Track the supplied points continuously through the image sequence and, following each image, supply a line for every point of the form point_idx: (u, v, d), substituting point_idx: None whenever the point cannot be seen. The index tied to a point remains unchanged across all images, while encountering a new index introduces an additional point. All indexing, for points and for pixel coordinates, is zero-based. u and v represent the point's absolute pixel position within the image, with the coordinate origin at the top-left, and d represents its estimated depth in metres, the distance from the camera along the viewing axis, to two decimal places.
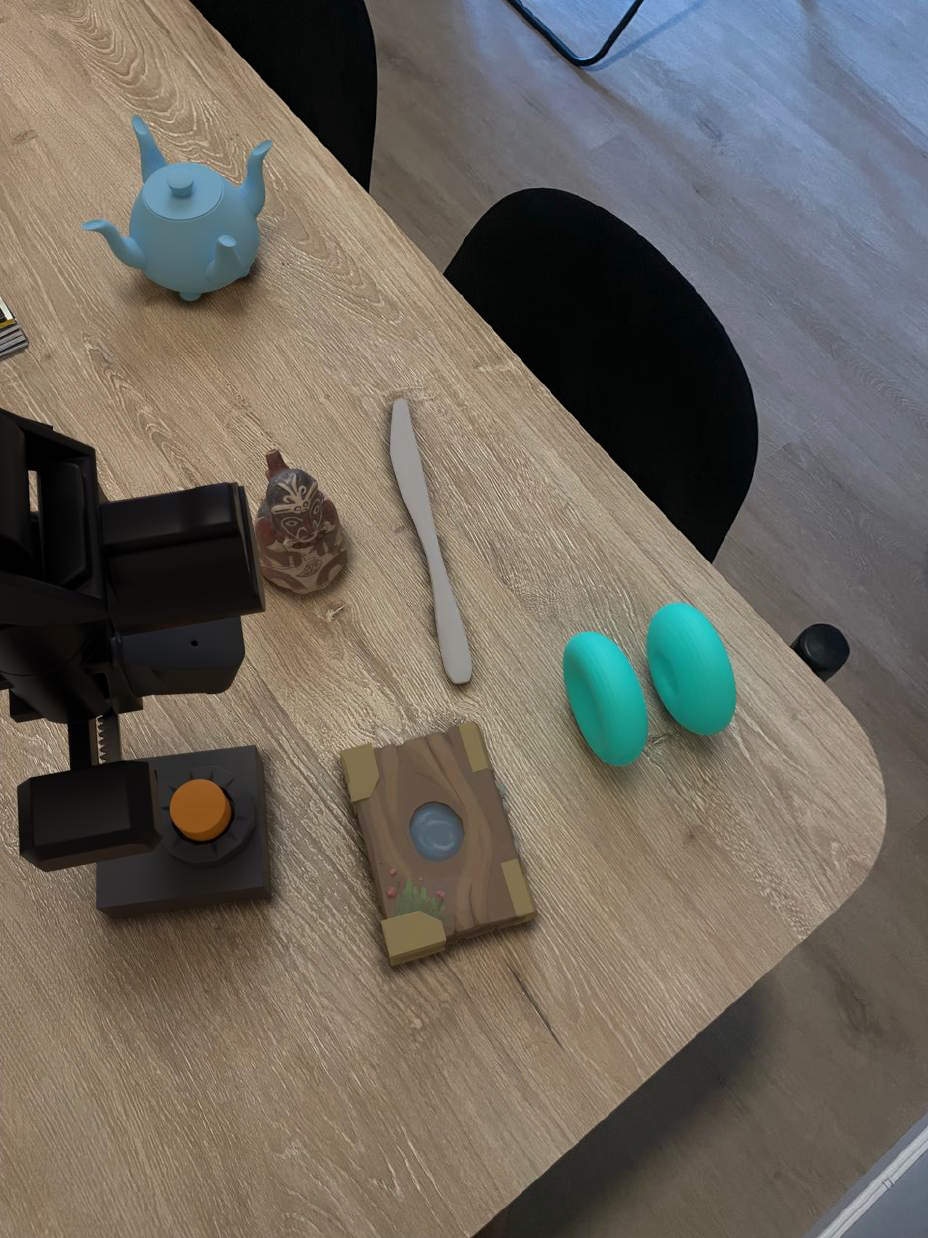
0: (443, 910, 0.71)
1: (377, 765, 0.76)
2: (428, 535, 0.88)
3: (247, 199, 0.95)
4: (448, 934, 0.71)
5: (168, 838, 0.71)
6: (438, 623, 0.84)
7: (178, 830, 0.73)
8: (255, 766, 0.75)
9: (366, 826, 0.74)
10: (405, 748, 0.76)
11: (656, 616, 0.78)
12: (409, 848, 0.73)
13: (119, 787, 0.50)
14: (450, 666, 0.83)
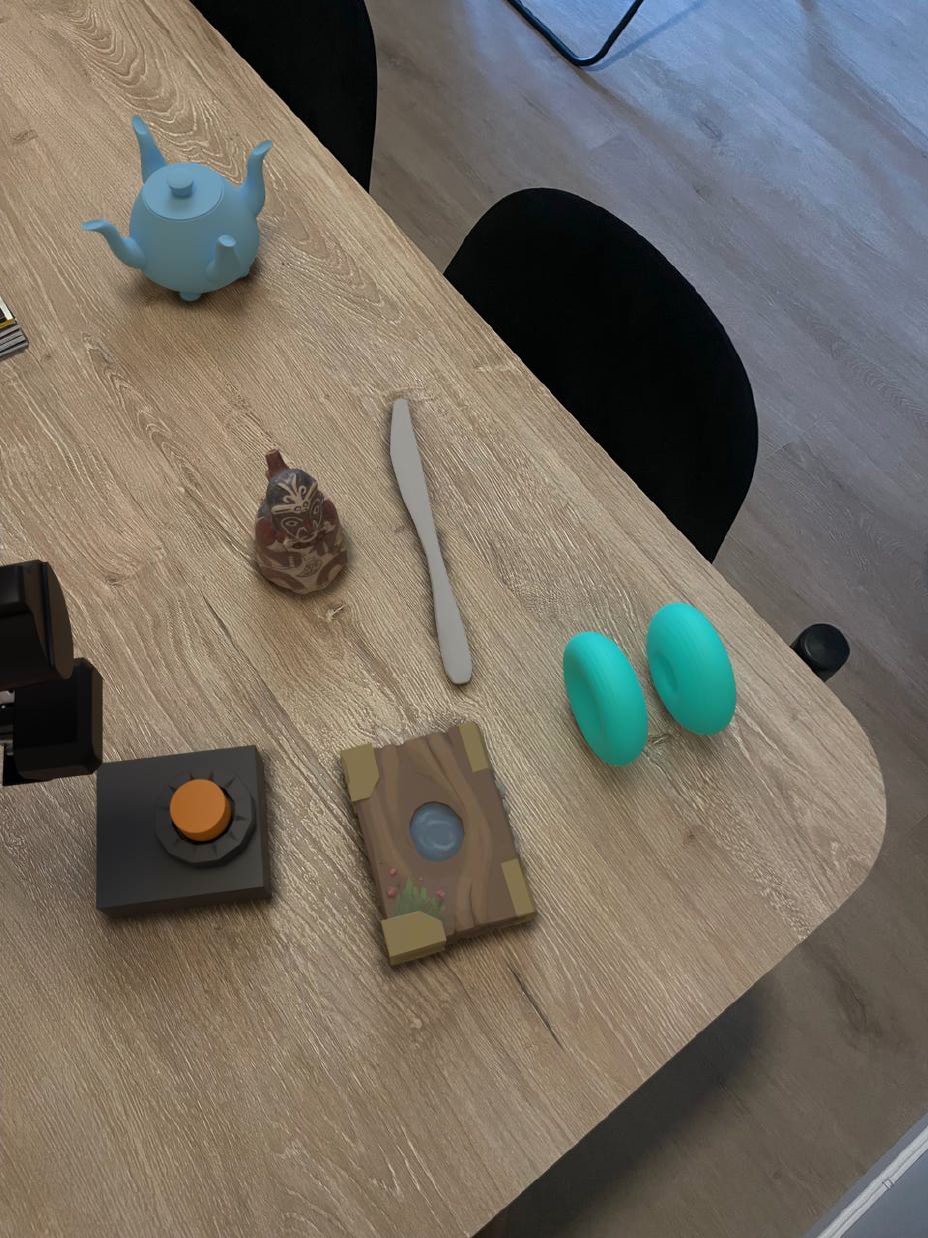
0: (443, 911, 0.71)
1: (377, 765, 0.76)
2: (428, 535, 0.88)
3: (247, 199, 0.95)
4: (448, 934, 0.71)
5: (168, 838, 0.71)
6: (438, 623, 0.84)
7: (178, 830, 0.73)
8: (255, 766, 0.75)
9: (366, 826, 0.74)
10: (405, 748, 0.76)
11: (656, 616, 0.78)
12: (409, 848, 0.73)
13: None
14: (450, 666, 0.83)
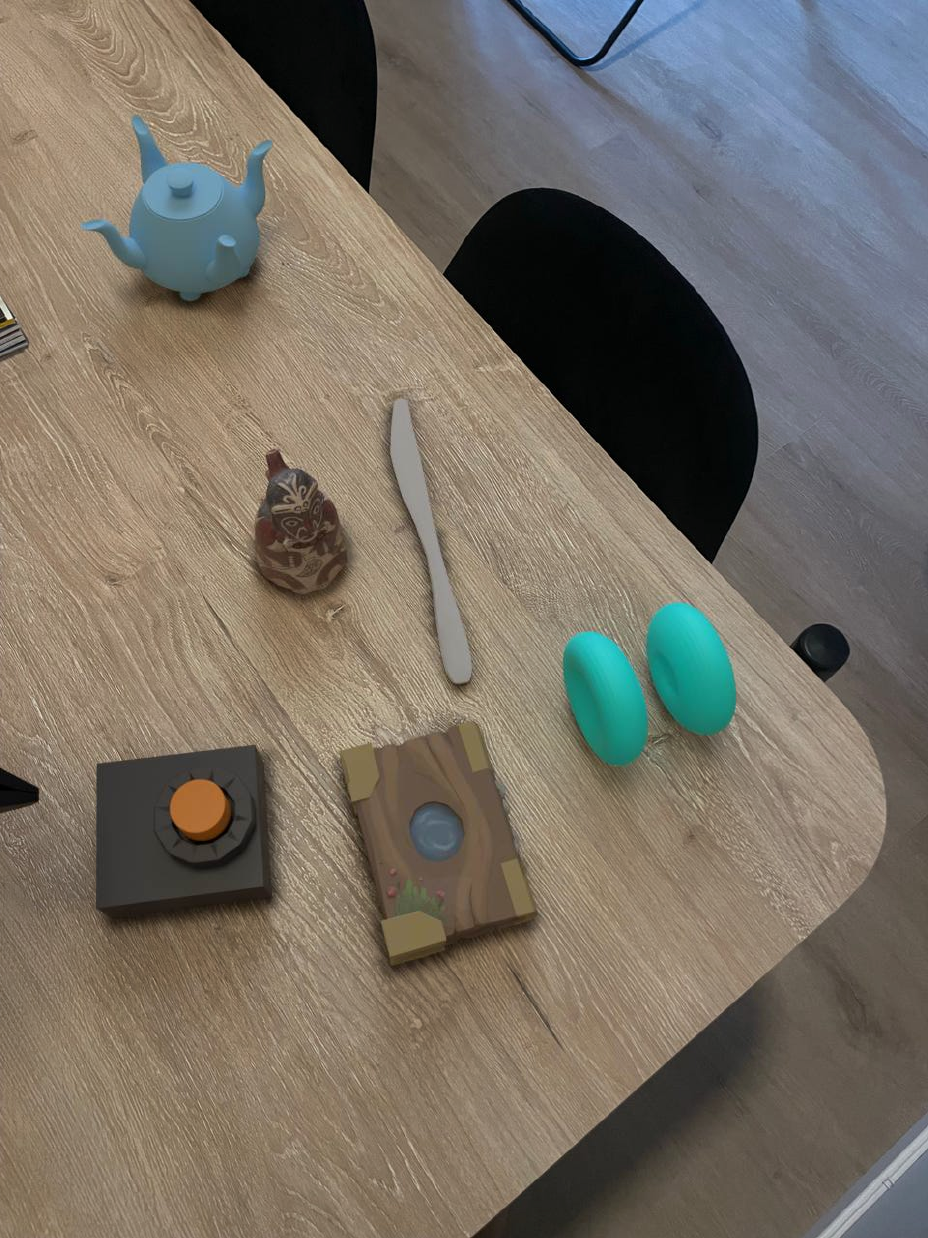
0: (443, 910, 0.71)
1: (377, 765, 0.76)
2: (428, 535, 0.88)
3: (247, 199, 0.95)
4: (448, 934, 0.71)
5: (168, 838, 0.71)
6: (438, 623, 0.84)
7: (178, 830, 0.73)
8: (255, 766, 0.75)
9: (366, 826, 0.74)
10: (405, 748, 0.76)
11: (656, 616, 0.78)
12: (409, 848, 0.73)
13: None
14: (450, 666, 0.83)
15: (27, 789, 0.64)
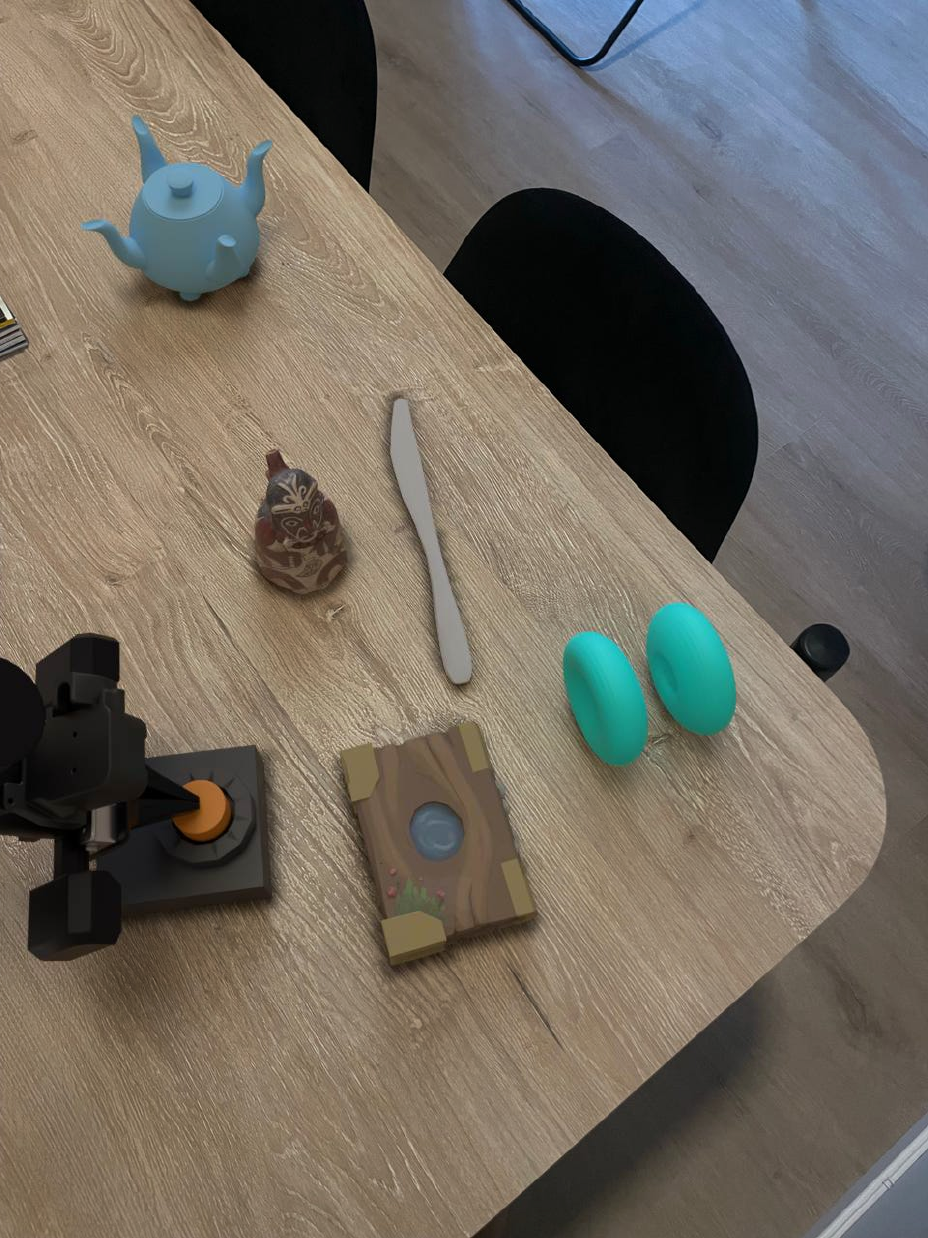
0: (443, 910, 0.71)
1: (377, 765, 0.76)
2: (428, 535, 0.88)
3: (247, 199, 0.95)
4: (448, 934, 0.71)
5: (168, 838, 0.71)
6: (438, 623, 0.84)
7: (178, 830, 0.73)
8: (255, 766, 0.75)
9: (366, 826, 0.74)
10: (405, 748, 0.76)
11: (656, 616, 0.78)
12: (409, 848, 0.73)
13: (64, 898, 0.59)
14: (450, 667, 0.83)
15: (190, 798, 0.69)
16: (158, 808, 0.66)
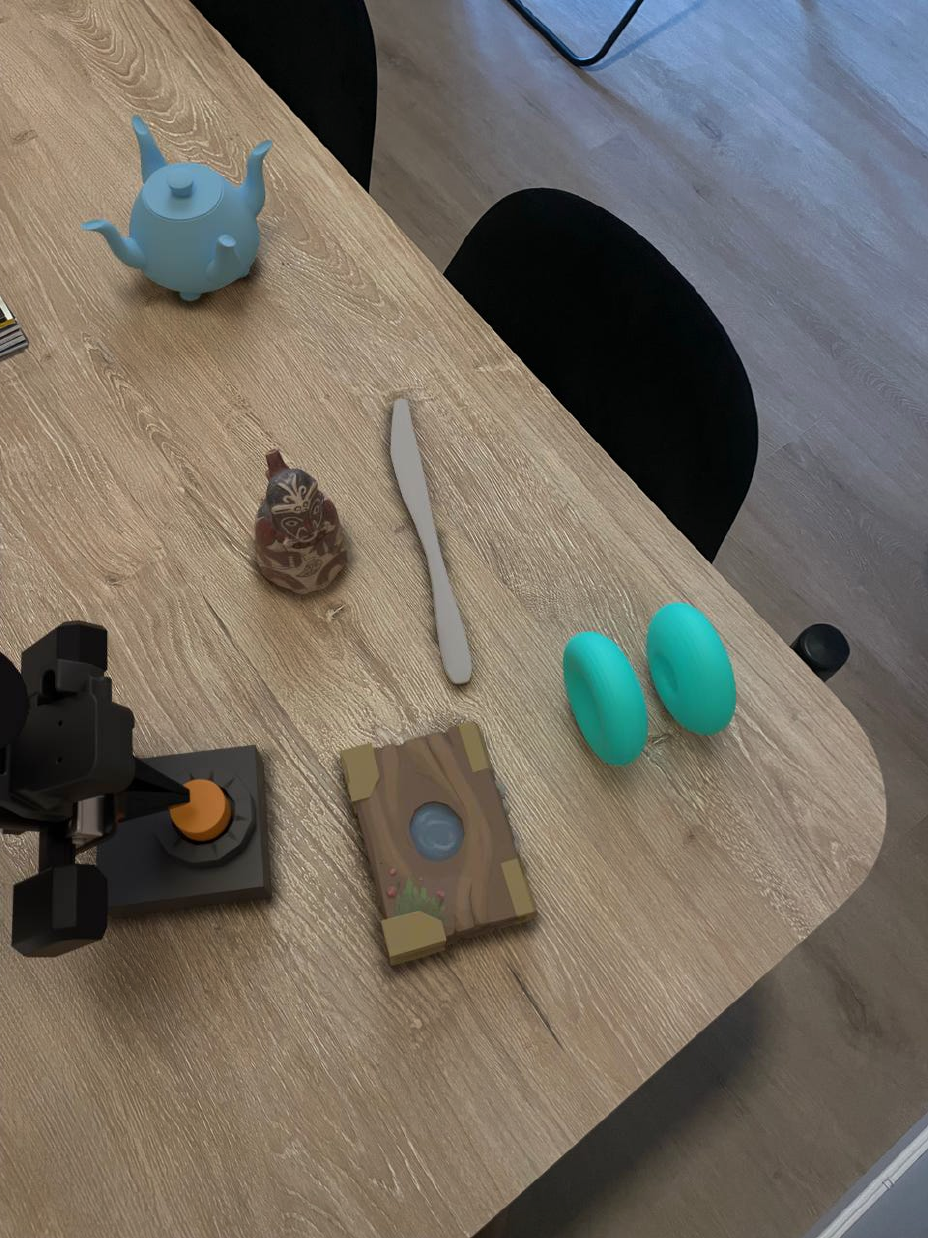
0: (443, 910, 0.71)
1: (377, 765, 0.76)
2: (428, 535, 0.88)
3: (247, 199, 0.95)
4: (448, 934, 0.71)
5: (168, 838, 0.71)
6: (438, 623, 0.84)
7: (178, 830, 0.73)
8: (255, 766, 0.75)
9: (366, 826, 0.74)
10: (405, 748, 0.76)
11: (656, 616, 0.78)
12: (409, 848, 0.73)
13: (48, 892, 0.57)
14: (450, 666, 0.83)
15: (180, 791, 0.67)
16: (147, 800, 0.65)
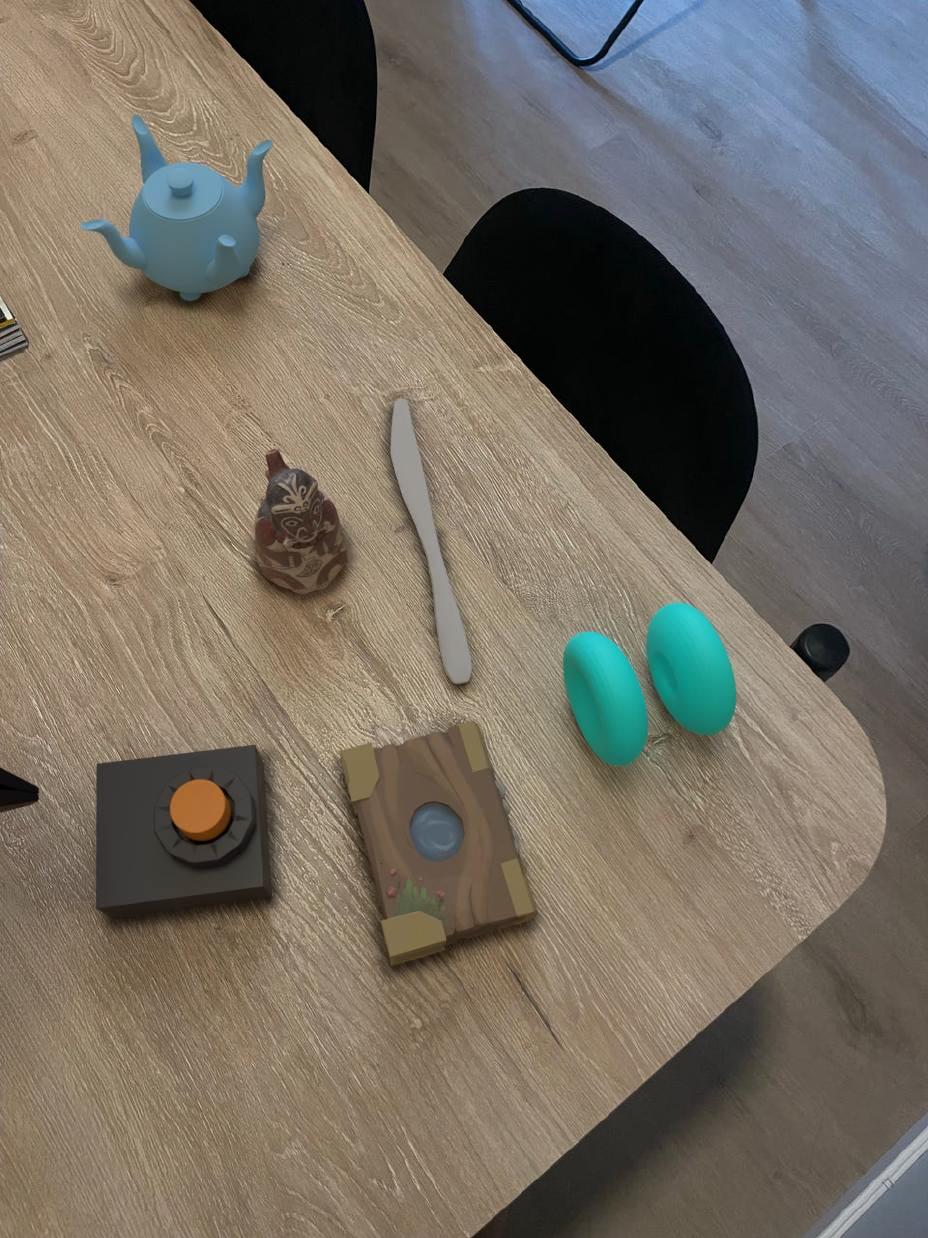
0: (443, 910, 0.71)
1: (377, 765, 0.76)
2: (428, 535, 0.88)
3: (247, 199, 0.95)
4: (448, 934, 0.71)
5: (168, 838, 0.71)
6: (438, 623, 0.84)
7: (178, 830, 0.73)
8: (255, 766, 0.75)
9: (366, 826, 0.74)
10: (405, 748, 0.76)
11: (656, 616, 0.78)
12: (409, 848, 0.73)
13: None
14: (450, 666, 0.83)
15: (27, 788, 0.63)
16: None
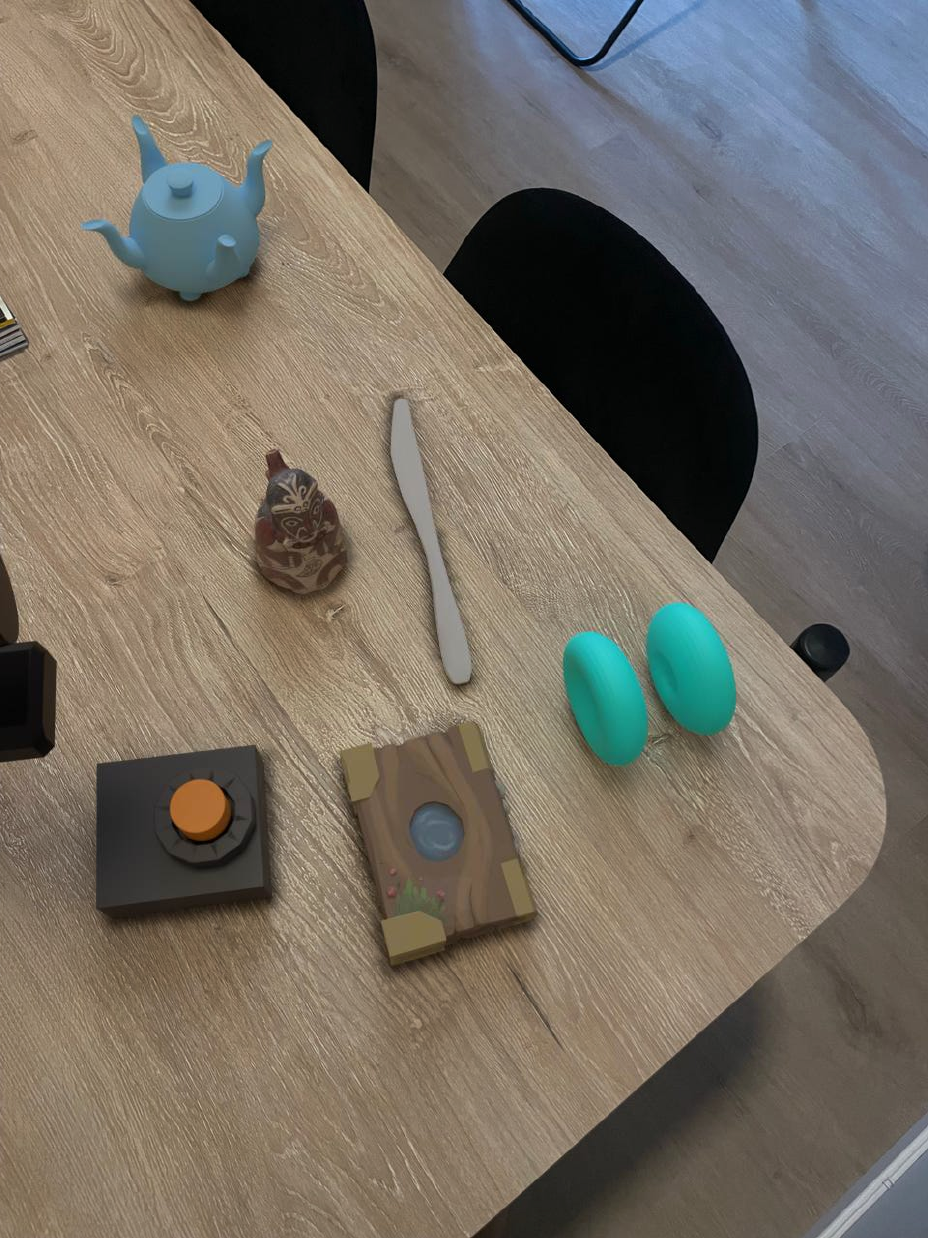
0: (443, 910, 0.71)
1: (377, 765, 0.76)
2: (428, 535, 0.88)
3: (247, 199, 0.95)
4: (448, 934, 0.71)
5: (168, 838, 0.71)
6: (438, 623, 0.84)
7: (178, 830, 0.73)
8: (255, 766, 0.75)
9: (366, 826, 0.74)
10: (405, 748, 0.76)
11: (656, 616, 0.78)
12: (409, 848, 0.73)
13: None
14: (450, 667, 0.83)
15: None
16: None
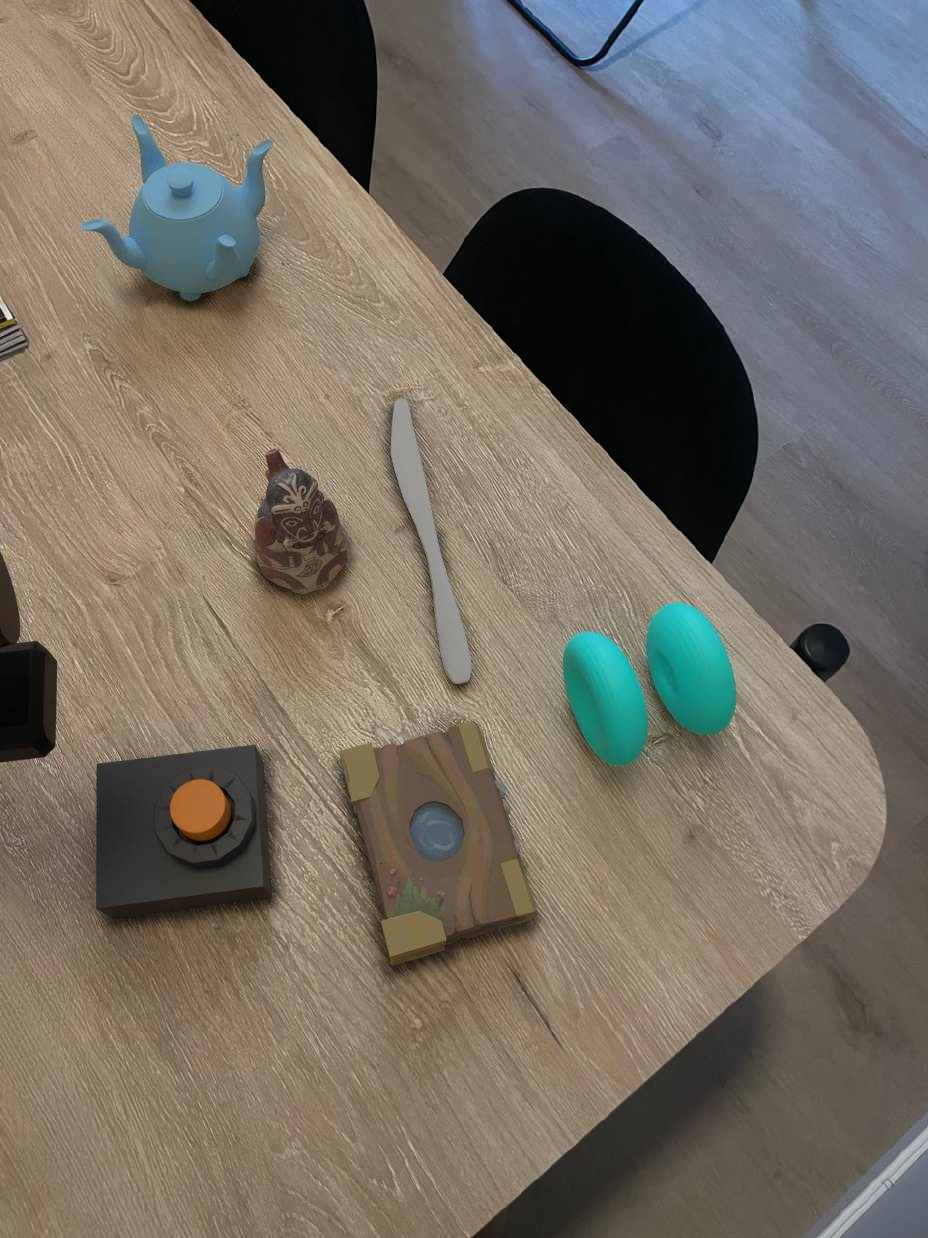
0: (443, 910, 0.71)
1: (377, 765, 0.76)
2: (428, 535, 0.88)
3: (247, 199, 0.95)
4: (448, 934, 0.71)
5: (168, 838, 0.71)
6: (438, 623, 0.84)
7: (178, 830, 0.73)
8: (255, 766, 0.75)
9: (366, 826, 0.74)
10: (405, 748, 0.76)
11: (656, 616, 0.78)
12: (409, 848, 0.73)
13: None
14: (449, 666, 0.83)
15: None
16: None
